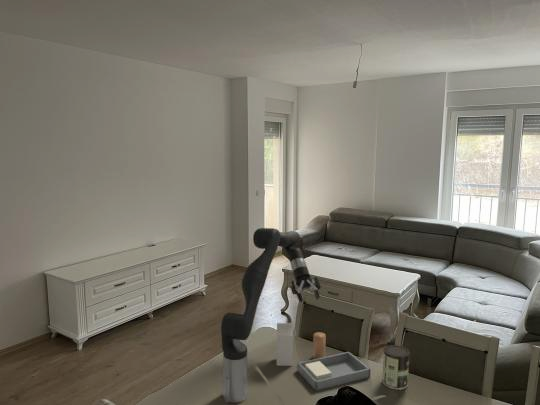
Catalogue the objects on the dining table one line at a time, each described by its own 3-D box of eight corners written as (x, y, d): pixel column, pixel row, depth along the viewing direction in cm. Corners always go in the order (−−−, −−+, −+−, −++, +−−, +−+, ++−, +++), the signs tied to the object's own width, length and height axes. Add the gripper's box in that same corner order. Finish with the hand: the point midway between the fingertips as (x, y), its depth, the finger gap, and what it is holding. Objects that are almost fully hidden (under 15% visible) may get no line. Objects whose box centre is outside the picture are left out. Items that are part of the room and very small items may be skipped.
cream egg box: (316, 385, 166) (316, 376, 166) (304, 373, 175) (305, 364, 175) (331, 381, 169) (331, 372, 168) (319, 369, 178) (319, 361, 178)
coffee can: (406, 377, 175) (408, 346, 173) (409, 391, 165) (411, 358, 163) (381, 374, 177) (382, 343, 175) (382, 388, 167) (384, 355, 165)
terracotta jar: (316, 363, 185) (317, 338, 183) (310, 358, 190) (311, 333, 188) (327, 361, 187) (327, 336, 185) (321, 355, 192) (321, 331, 190)
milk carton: (292, 367, 181) (293, 326, 179) (276, 367, 182) (276, 326, 179) (292, 359, 188) (292, 320, 186) (276, 359, 189) (277, 319, 186)
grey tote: (315, 392, 163) (315, 382, 162) (297, 372, 178) (297, 362, 177) (370, 379, 173) (370, 369, 172) (348, 361, 188) (348, 351, 187)
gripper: (288, 267, 198) (298, 299, 190) (315, 263, 203) (326, 294, 195) (284, 274, 204) (293, 305, 196) (310, 270, 209) (320, 300, 201)
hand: (309, 300), depth 195 cm, fingers open, 8 cm apart
